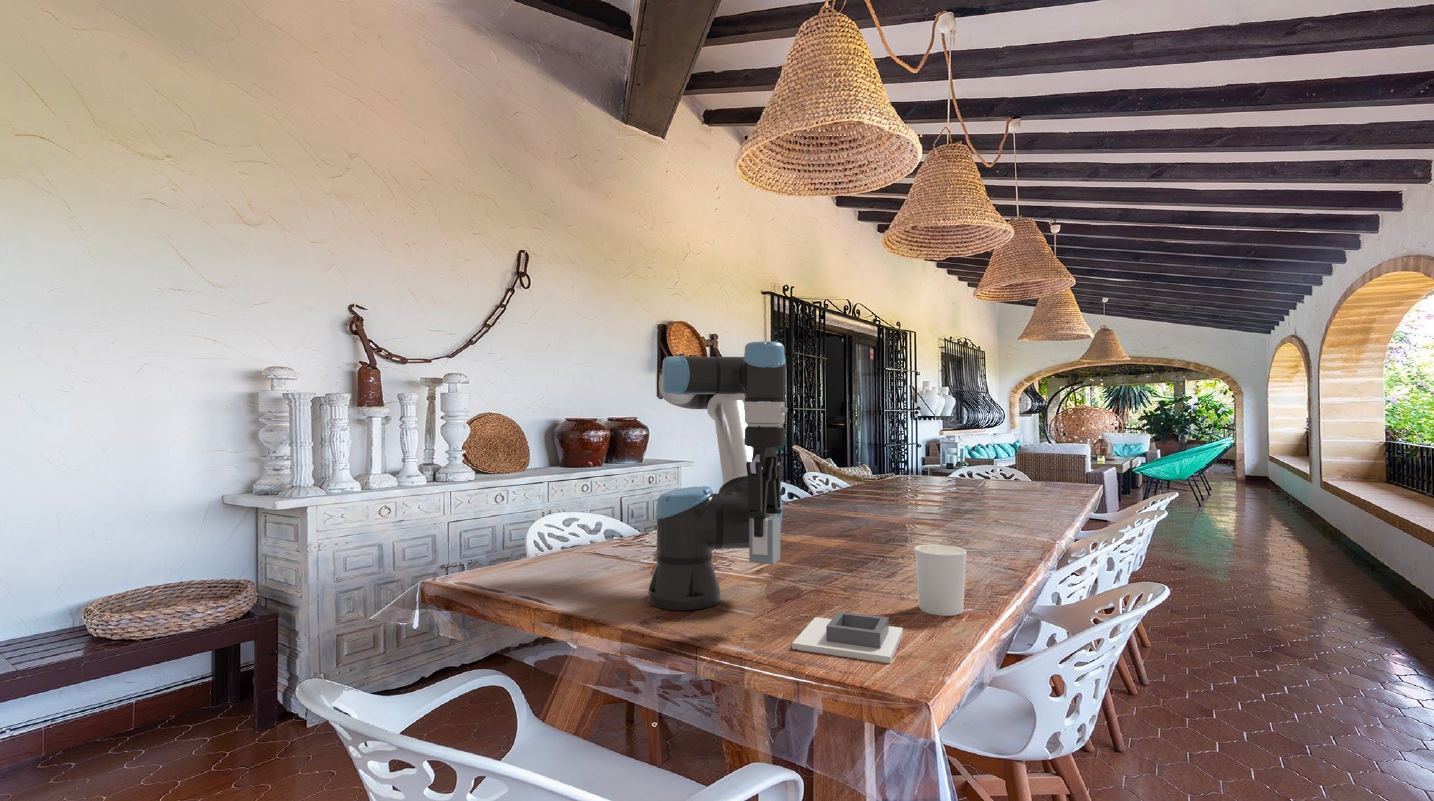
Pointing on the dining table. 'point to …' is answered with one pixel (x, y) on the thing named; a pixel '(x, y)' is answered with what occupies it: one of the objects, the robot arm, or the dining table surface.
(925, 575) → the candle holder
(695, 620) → the dining table surface
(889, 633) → the charging dock
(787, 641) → the dining table surface
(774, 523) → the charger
